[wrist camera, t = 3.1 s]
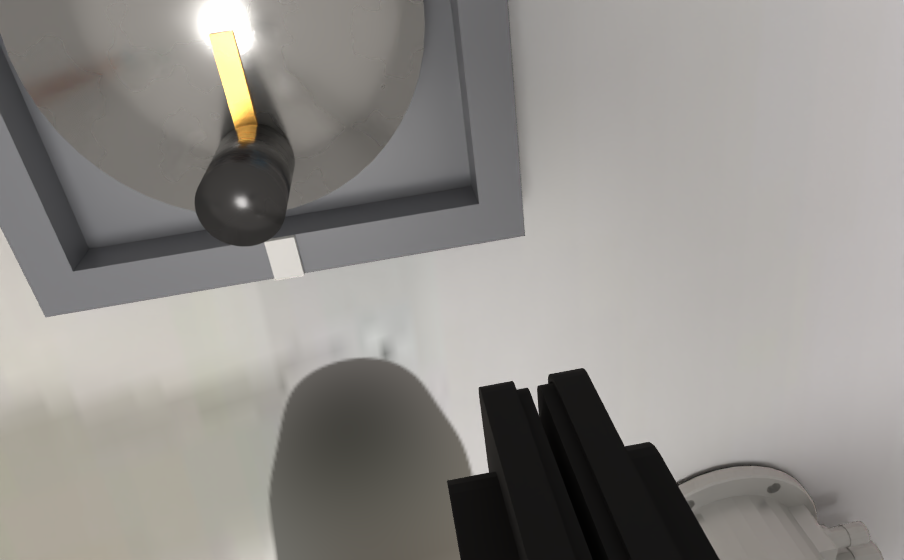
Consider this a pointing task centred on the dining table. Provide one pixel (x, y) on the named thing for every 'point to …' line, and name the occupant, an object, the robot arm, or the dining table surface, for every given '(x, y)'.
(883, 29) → the dining table surface
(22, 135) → the housing
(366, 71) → the dial
